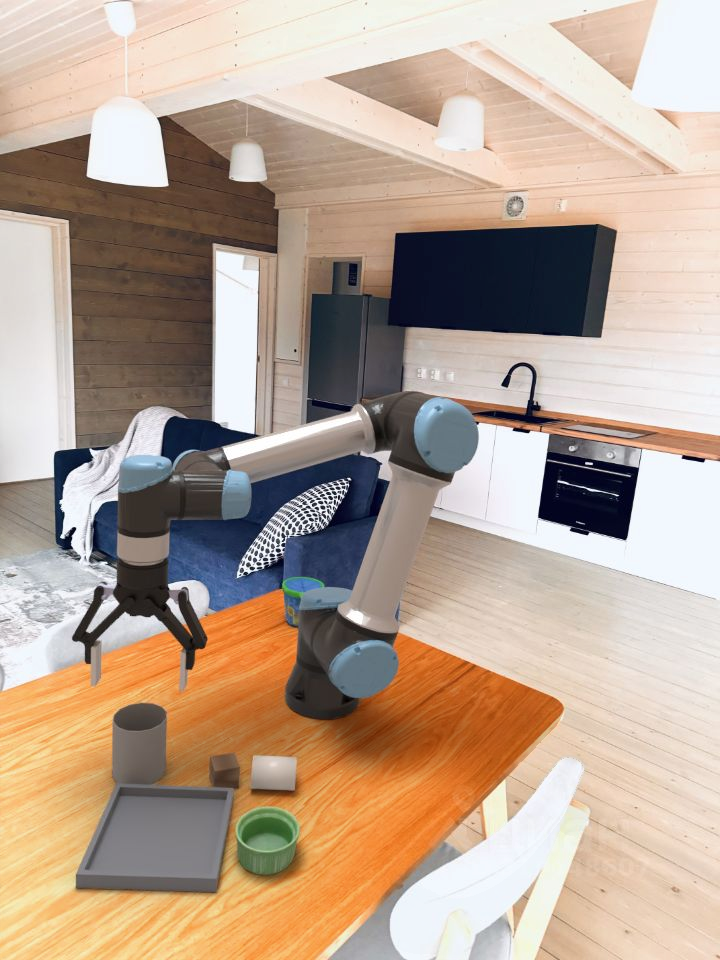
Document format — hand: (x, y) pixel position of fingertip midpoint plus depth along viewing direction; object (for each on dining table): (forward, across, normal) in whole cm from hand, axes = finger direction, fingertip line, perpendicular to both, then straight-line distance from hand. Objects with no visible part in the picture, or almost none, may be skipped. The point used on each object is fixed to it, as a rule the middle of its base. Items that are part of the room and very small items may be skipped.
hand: (139, 684), depth 109 cm
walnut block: (+16, -14, +2) cm, 21 cm away
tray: (+16, -7, +15) cm, 23 cm away
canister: (+12, -22, +4) cm, 26 cm away
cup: (+16, 0, 0) cm, 16 cm away
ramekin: (+16, -22, +17) cm, 32 cm away
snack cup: (+16, -25, -61) cm, 68 cm away
